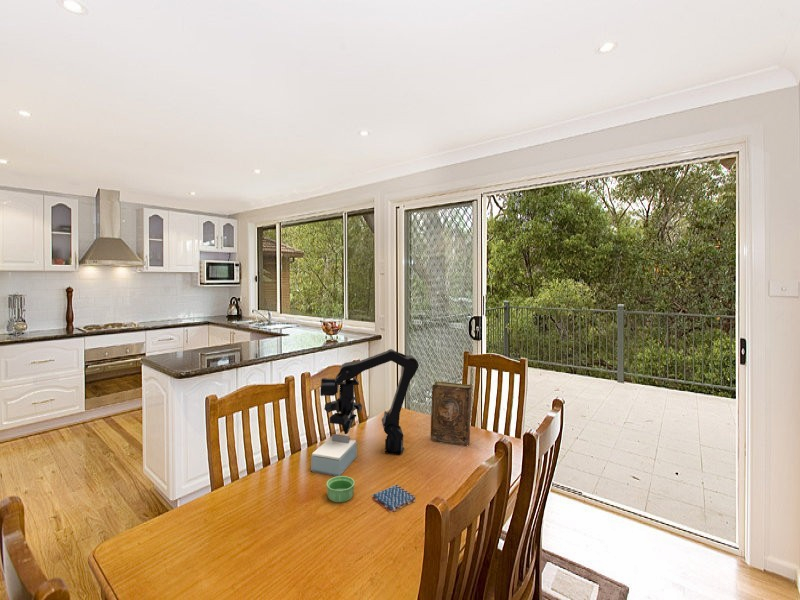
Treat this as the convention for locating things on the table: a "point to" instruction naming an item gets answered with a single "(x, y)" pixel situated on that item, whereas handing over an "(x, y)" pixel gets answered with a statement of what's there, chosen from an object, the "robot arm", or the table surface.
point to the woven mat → (393, 498)
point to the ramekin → (340, 488)
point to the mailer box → (333, 463)
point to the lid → (335, 447)
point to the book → (451, 413)
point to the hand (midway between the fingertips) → (346, 433)
